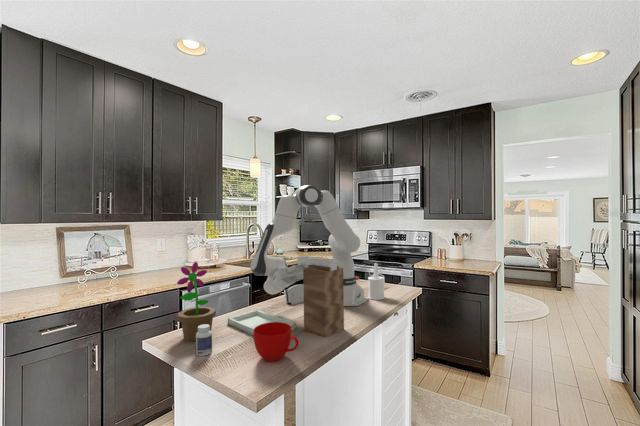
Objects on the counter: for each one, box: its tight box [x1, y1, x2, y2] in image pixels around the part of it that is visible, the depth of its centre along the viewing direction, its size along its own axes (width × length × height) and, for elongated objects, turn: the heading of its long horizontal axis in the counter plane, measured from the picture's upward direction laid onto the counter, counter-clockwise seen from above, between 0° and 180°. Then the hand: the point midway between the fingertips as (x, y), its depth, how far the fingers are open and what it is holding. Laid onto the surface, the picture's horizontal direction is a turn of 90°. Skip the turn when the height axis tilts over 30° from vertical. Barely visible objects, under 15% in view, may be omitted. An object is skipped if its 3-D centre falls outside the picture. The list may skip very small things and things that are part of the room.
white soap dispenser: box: [367, 262, 386, 301], centre depth 181 cm, size 10×9×20 cm
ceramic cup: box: [253, 322, 300, 363], centre depth 107 cm, size 13×17×10 cm
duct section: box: [296, 255, 337, 271], centre depth 136 cm, size 4×20×4 cm, turn 46°
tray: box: [227, 309, 297, 337], centre depth 138 cm, size 16×28×3 cm, turn 47°
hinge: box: [284, 283, 304, 306], centre depth 177 cm, size 17×5×10 cm, turn 136°
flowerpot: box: [176, 261, 217, 343], centre depth 127 cm, size 14×14×30 cm
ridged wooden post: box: [302, 265, 345, 338], centre depth 133 cm, size 12×12×27 cm
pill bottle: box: [195, 324, 213, 357], centre depth 112 cm, size 5×5×10 cm
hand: (303, 264), depth 142 cm, fingers open, 8 cm apart
